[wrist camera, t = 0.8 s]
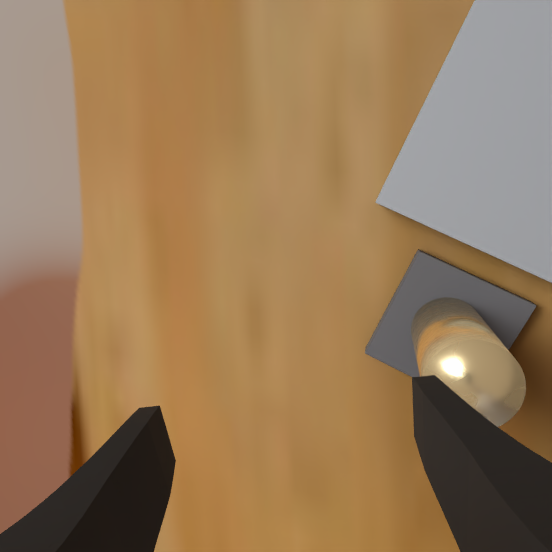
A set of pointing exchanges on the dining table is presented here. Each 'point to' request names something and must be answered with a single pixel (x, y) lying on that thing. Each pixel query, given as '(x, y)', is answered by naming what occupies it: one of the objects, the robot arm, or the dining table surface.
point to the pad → (438, 284)
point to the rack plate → (487, 139)
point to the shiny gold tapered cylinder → (468, 358)
